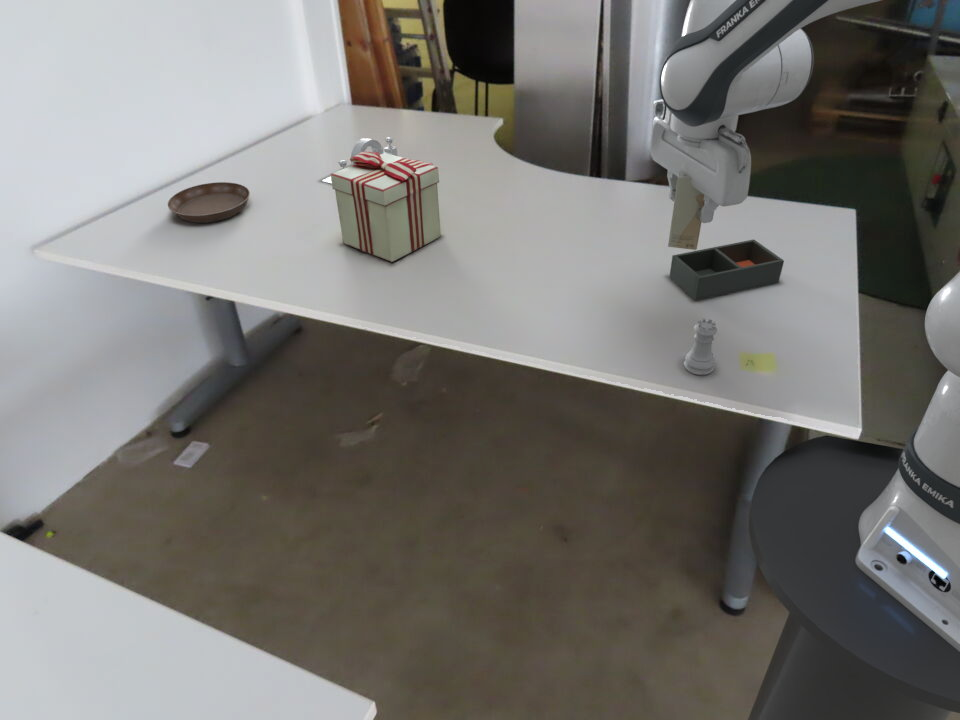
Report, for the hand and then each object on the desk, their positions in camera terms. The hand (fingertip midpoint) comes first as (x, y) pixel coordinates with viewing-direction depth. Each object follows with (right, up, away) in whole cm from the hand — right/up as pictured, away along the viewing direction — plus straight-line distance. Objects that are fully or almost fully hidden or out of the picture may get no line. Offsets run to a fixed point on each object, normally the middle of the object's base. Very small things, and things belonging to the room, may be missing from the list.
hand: (689, 210), depth 104 cm
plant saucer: (-92, +12, +55) cm, 108 cm away
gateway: (-58, +24, +70) cm, 94 cm away
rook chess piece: (+2, -23, +2) cm, 24 cm away
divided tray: (+13, -8, +22) cm, 26 cm away
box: (0, -4, +3) cm, 5 cm away
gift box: (-49, +3, +41) cm, 63 cm away
